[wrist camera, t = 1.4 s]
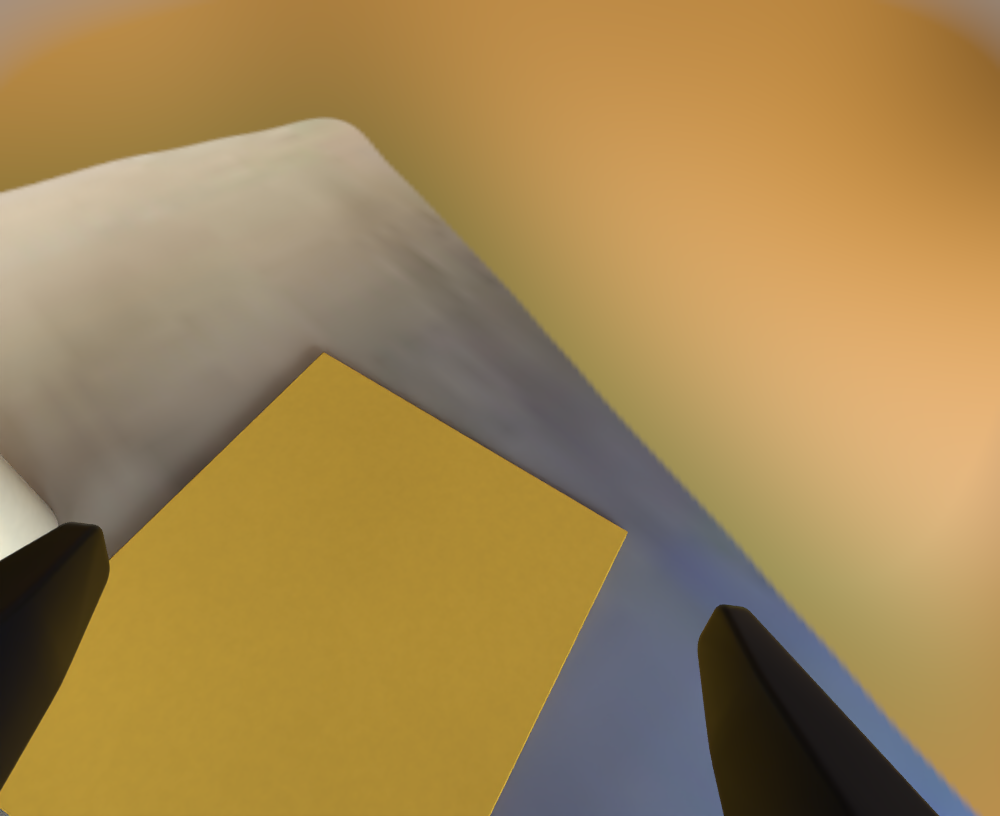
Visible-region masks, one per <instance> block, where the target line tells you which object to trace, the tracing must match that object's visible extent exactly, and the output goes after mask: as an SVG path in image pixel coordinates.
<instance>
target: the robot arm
mask: <svg viewBox="0 0 1000 816" xmlns="http://www.w3.org/2000/svg"><path fill="white" fill-rule="evenodd" d="M109 572H110V564H109V559H108V554H107V549H106V545H105V540H104V535H103V532H102V529H101V528H100V527H99V526H97V525H93V524H85V523H77V522H67V523H64V524H62V525H60V526H58V527H56V528H55V529H53V530H51V531H50V532H48V533H46V534H45V535H43V536H41V537H39V538H38V539H36V540H34V541H33V542H31V543H29V544H27V545H26V546H24V547H22V548H21V549H19V550H17V551H15V552H14V553H12V554H10V555H9V556H7V557H5V558H3V559H2V560H0V791H1V789H2V788H3V786H4V784H5V782H6V781H7V779H8V777H9V776H10V774H11V772H12V770H13V769H14V767H15V765H16V763H17V762H18V760H19V758H20V756H21V755H22V753H23V751H24V750H25V748H26V746H27V744H28V743H29V741H30V739H31V737H32V736H33V734H34V732H35V730H36V729H37V727H38V725H39V723H40V722H41V720H42V718H43V717H44V715H45V713H46V711H47V710H48V708H49V706H50V704H51V703H52V701H53V699H54V697H55V695H56V693H57V692H58V690H59V688H60V686H61V684H62V682H63V680H64V678H65V676H66V674H67V671H68V669H69V667H70V665H71V663H72V660H73V658H74V656H75V654H76V651H77V649H78V647H79V644H80V642H81V640H82V638H83V635H84V633H85V631H86V629H87V626H88V624H89V622H90V620H91V617H92V615H93V613H94V610H95V608H96V606H97V604H98V601H99V599H100V597H101V595H102V592H103V590H104V588H105V586H106V583H107V581H108V577H109ZM698 660H699V668H700V676H701V685H702V693H703V702H704V710H705V719H706V727H707V735H708V742H709V749H710V755H711V760H712V765H713V769H714V774H715V778H716V783H717V787H718V792H719V796H720V801H721V805H722V809H723V814H724V816H939V815H938V814H937V813H936V812H935V811H934V810H933V809H932V808H931V807H930V805H929V804H928V803H927V802H926V801H925V800H924V799H923V798H922V797H921V796H920V795H919V794H918V792H917V791H916V790H915V789H914V788H913V787H912V786H911V785H910V784H909V783H908V782H907V781H906V779H905V778H904V777H903V776H902V775H901V774H900V773H899V772H898V771H897V770H896V769H895V768H894V766H893V765H892V764H891V763H890V762H889V761H888V760H887V759H886V758H885V757H884V756H883V755H882V754H881V752H880V751H879V750H878V749H877V748H876V747H875V746H874V745H873V744H872V743H871V742H870V741H869V739H868V738H867V737H866V736H865V735H864V734H863V733H862V732H861V731H860V730H859V729H858V728H857V726H856V725H855V724H854V723H853V722H852V721H851V720H850V719H849V718H848V717H847V716H846V715H845V713H844V712H843V711H842V710H841V709H840V708H839V707H838V706H837V705H836V704H835V703H834V702H833V701H832V699H831V698H830V697H829V696H828V695H827V694H826V693H825V692H824V691H823V690H822V689H821V688H820V686H819V685H818V684H817V683H816V682H815V681H814V680H813V679H812V678H811V677H810V676H809V675H808V673H807V672H806V671H805V670H804V669H803V668H802V667H801V666H800V665H799V664H798V663H797V662H796V660H795V659H794V658H793V657H792V656H791V655H790V654H789V653H788V652H787V651H786V650H785V649H784V648H783V646H782V645H781V644H780V643H779V642H778V641H777V640H776V639H775V638H774V637H773V636H772V635H771V633H770V632H769V631H768V630H767V629H766V628H765V627H764V626H763V625H762V624H761V623H760V622H759V620H758V619H757V618H756V617H755V616H754V615H753V614H752V613H751V612H750V611H749V610H748V609H746V608H744V607H740V606H732V605H719V606H718V607H716V609H715V610H714V612H713V614H712V616H711V617H710V619H709V621H708V623H707V624H706V626H705V628H704V630H703V632H702V633H701V635H700V638H699V641H698Z"/></svg>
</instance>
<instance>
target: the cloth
mask: <svg viewBox="0 0 1000 816" xmlns="http://www.w3.org/2000/svg"><path fill="white" fill-rule="evenodd" d="M627 533H628V532H627V531H625V530H624V529H622V528H620V527H619V526H617V525H615V524H614V523H612V522H610V521H609V520H607V519H605V518H603V517H602V516H600V515H598V514H597V513H595V512H593V511H592V510H590V509H588V508H587V507H585V506H583V505H581V504H580V503H578V502H576V501H575V500H573V499H571V498H570V497H568V496H566V495H565V494H563V493H561V492H559V491H558V490H556V489H554V488H553V487H551V486H549V485H548V484H546V483H544V482H543V481H541V480H539V479H537V478H536V477H534V476H532V475H531V474H529V473H527V472H526V471H524V470H522V469H521V468H519V467H517V466H515V465H514V464H512V463H510V462H509V461H507V460H505V459H504V458H502V457H500V456H499V455H497V454H495V453H494V452H492V451H490V450H488V449H487V448H485V447H483V446H482V445H480V444H478V443H477V442H475V441H473V440H472V439H470V438H468V437H466V436H465V435H463V434H461V433H460V432H458V431H456V430H455V429H453V428H451V427H450V426H448V425H446V424H444V423H443V422H441V421H439V420H438V419H436V418H434V417H433V416H431V415H429V414H428V413H426V412H424V411H422V410H421V409H419V408H417V407H416V406H414V405H412V404H411V403H409V402H407V401H406V400H404V399H402V398H400V397H399V396H397V395H395V394H394V393H392V392H390V391H389V390H387V389H385V388H384V387H382V386H380V385H378V384H377V383H375V382H373V381H372V380H370V379H368V378H367V377H365V376H363V375H362V374H360V373H358V372H356V371H355V370H353V369H351V368H350V367H348V366H346V365H345V364H343V363H341V362H340V361H338V360H336V359H334V358H333V357H331V356H329V355H328V354H326V353H324V352H323V353H322V354H321V355H320V356H319V357H318V358H317V359H316V360H315V361H314V362H313V363H312V364H311V365H310V366H309V367H308V368H307V369H306V370H305V371H304V372H303V373H302V374H301V375H300V376H299V377H298V378H297V379H295V380H294V381H293V382H292V383H291V384H290V385H289V386H288V387H287V388H286V389H285V390H284V391H283V392H282V393H281V394H280V395H279V396H278V397H277V398H276V399H275V400H274V401H273V402H272V403H271V404H270V405H269V406H268V407H267V408H266V409H265V410H264V411H262V412H261V413H260V414H259V415H258V416H257V417H256V418H255V419H254V420H253V421H252V422H251V423H250V424H249V425H248V426H247V427H246V428H245V429H244V430H243V431H242V432H241V433H240V434H239V435H238V436H237V437H236V438H235V439H234V440H233V441H232V442H231V443H229V444H228V445H227V446H226V447H225V448H224V449H223V450H222V451H221V452H220V453H219V454H218V455H217V456H216V457H215V458H214V459H213V460H212V461H211V462H210V463H209V464H208V465H207V466H206V467H205V468H204V469H203V470H202V471H201V472H200V473H199V474H198V475H196V476H195V477H194V478H193V479H192V480H191V481H190V482H189V483H188V484H187V485H186V486H185V487H184V488H183V489H182V490H181V491H180V492H179V493H178V494H177V495H176V496H175V497H174V498H173V499H172V500H171V501H170V502H169V503H168V504H167V505H166V506H165V507H163V508H162V509H161V510H160V511H159V512H158V513H157V514H156V515H155V516H154V517H153V518H152V519H151V520H150V521H149V522H148V523H147V524H146V525H145V526H144V527H143V528H142V529H141V530H140V531H139V532H138V533H137V534H136V535H135V536H134V537H133V538H132V539H130V540H129V541H128V542H127V543H126V544H125V545H124V546H123V547H122V548H121V549H120V550H119V551H118V552H117V553H116V554H115V555H114V556H113V557H112V558H111V559H110V560H109V564H110V572H109V577H108V581H107V583H106V586H105V588H104V590H103V592H102V595H101V597H100V599H99V601H98V604H97V606H96V608H95V610H94V613H93V615H92V617H91V620H90V622H89V624H88V626H87V629H86V631H85V633H84V635H83V638H82V640H81V642H80V644H79V647H78V649H77V651H76V654H75V656H74V658H73V660H72V663H71V665H70V667H69V669H68V671H67V674H66V676H65V678H64V680H63V682H62V684H61V686H60V688H59V690H58V692H57V693H56V695H55V697H54V699H53V701H52V703H51V704H50V706H49V708H48V710H47V711H46V713H45V715H44V717H43V718H42V720H41V722H40V723H39V725H38V727H37V729H36V730H35V732H34V734H33V736H32V737H31V739H30V741H29V743H28V744H27V746H26V748H25V750H24V751H23V753H22V755H21V756H20V758H19V760H18V762H17V763H16V765H15V767H14V769H13V770H12V772H11V774H10V776H9V777H8V779H7V781H6V782H5V784H4V786H3V788H2V789H1V791H0V808H1V809H2V810H3V811H4V812H6V813H7V814H8V815H9V816H490V814H491V812H492V810H493V808H494V806H495V804H496V802H497V800H498V798H499V796H500V794H501V792H502V790H503V788H504V786H505V784H506V782H507V780H508V778H509V775H510V773H511V771H512V769H513V767H514V765H515V763H516V761H517V759H518V757H519V755H520V753H521V751H522V749H523V747H524V745H525V743H526V741H527V738H528V736H529V734H530V732H531V730H532V728H533V726H534V724H535V722H536V720H537V718H538V716H539V714H540V712H541V710H542V708H543V706H544V704H545V702H546V699H547V697H548V695H549V693H550V691H551V689H552V687H553V685H554V683H555V681H556V679H557V677H558V675H559V673H560V671H561V669H562V667H563V665H564V662H565V660H566V658H567V656H568V654H569V652H570V650H571V648H572V646H573V644H574V642H575V640H576V638H577V636H578V634H579V632H580V630H581V628H582V626H583V623H584V621H585V619H586V617H587V615H588V613H589V611H590V609H591V607H592V605H593V603H594V601H595V599H596V597H597V595H598V593H599V591H600V589H601V587H602V584H603V582H604V580H605V578H606V576H607V574H608V572H609V570H610V568H611V566H612V564H613V562H614V560H615V558H616V556H617V554H618V552H619V550H620V547H621V545H622V543H623V541H624V539H625V537H626V535H627Z"/></svg>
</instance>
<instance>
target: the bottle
mask: <svg viewBox="0 0 1000 816" xmlns="http://www.w3.org/2000/svg"><path fill="white" fill-rule="evenodd" d="M56 527H58V522H57V519H56V516H55V514H54V513H53V511H52V509H51V508H50V507H49V506H48V505H47V504H46V502H45V501H44V500H43V499H42V498H41V497H40V496H39V495H38V494H37V493H36V492H35V491H34V489H33V488H32V487H31V486H30V485H29V484H28V483H27V482H26V481H25V480H24V479H23V478H22V476H21V475H20V474H19V473H18V472H17V471H16V470H15V469H14V468H13V467H12V466H11V465H10V463H9V462H8V461H7V460H6V459H5V458H4V457H3V456H2V455H1V454H0V560H2V559H3V558H5V557H7V556H9V555H10V554H12V553H14V552H15V551H17V550H19V549H21V548H22V547H24V546H26V545H27V544H29V543H31V542H33V541H34V540H36V539H38V538H39V537H41V536H43V535H45V534H46V533H48V532H50V531H51V530H53V529H55V528H56Z"/></svg>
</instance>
